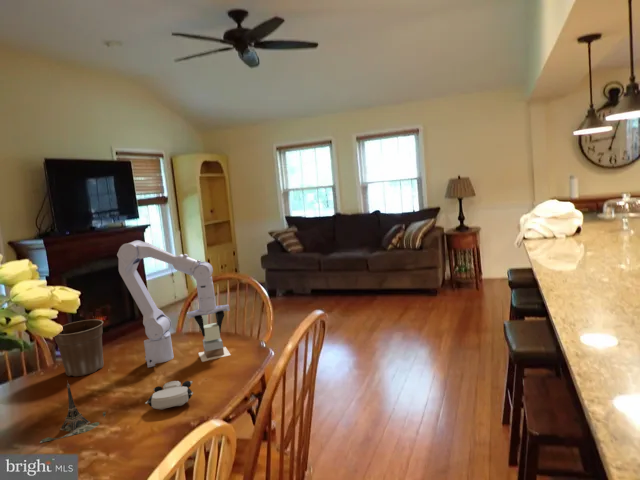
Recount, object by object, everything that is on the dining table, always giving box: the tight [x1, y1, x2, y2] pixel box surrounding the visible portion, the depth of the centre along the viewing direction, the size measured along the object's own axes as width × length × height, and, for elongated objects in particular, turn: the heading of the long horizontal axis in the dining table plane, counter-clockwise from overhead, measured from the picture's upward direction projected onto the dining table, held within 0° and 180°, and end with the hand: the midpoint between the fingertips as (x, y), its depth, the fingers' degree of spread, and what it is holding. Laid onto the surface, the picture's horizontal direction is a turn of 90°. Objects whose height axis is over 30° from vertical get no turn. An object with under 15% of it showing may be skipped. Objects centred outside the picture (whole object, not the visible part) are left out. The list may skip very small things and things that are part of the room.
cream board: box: [198, 346, 232, 363], centre depth 166 cm, size 10×10×1 cm
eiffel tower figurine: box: [39, 380, 107, 444], centre depth 123 cm, size 15×10×13 cm
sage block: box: [203, 322, 221, 341], centre depth 165 cm, size 5×5×4 cm
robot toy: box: [145, 380, 194, 411], centre depth 133 cm, size 12×4×15 cm
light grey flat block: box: [202, 337, 224, 352], centre depth 166 cm, size 6×6×2 cm
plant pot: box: [54, 319, 105, 377], centre depth 164 cm, size 16×16×16 cm
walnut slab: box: [203, 347, 224, 358], centre depth 166 cm, size 6×6×2 cm
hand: (211, 333), depth 165 cm, fingers closed on sage block, 5 cm apart
